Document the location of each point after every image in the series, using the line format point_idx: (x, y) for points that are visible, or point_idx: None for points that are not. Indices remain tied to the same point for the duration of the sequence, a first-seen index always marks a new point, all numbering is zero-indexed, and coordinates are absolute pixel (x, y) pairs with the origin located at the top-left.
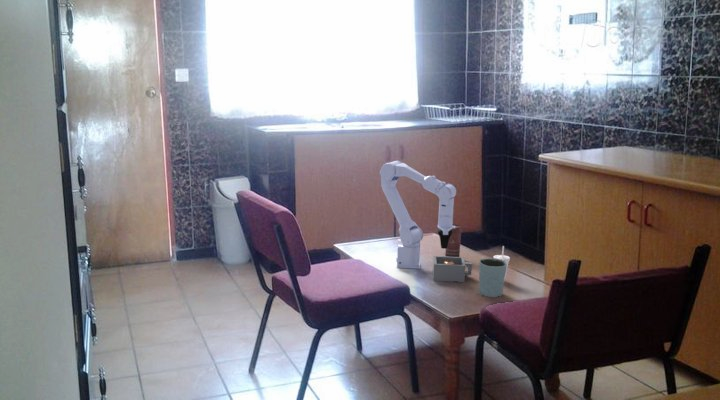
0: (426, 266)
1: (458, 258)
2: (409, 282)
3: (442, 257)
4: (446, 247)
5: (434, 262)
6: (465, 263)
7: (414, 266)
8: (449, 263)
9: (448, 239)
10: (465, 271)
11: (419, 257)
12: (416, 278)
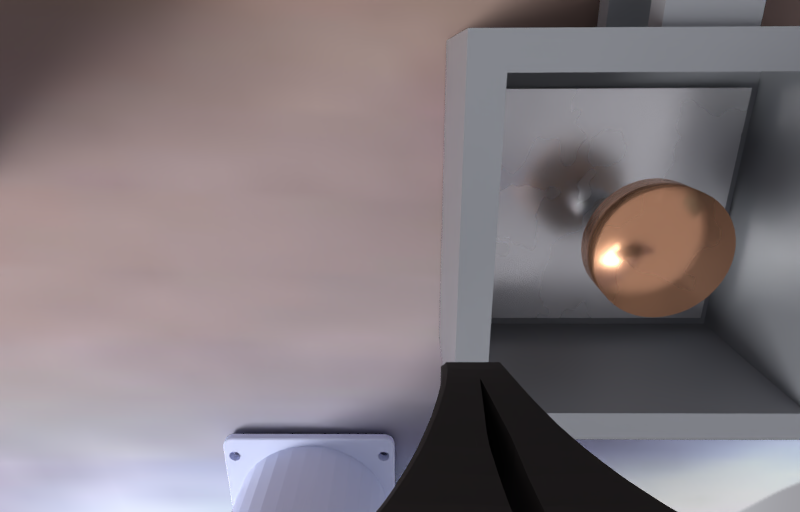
0: (294, 383)
1: (500, 115)
2: (756, 498)
3: (488, 336)
4: (511, 376)
5: (753, 434)
6: (754, 11)
7: (377, 482)
8: (719, 251)
9: (615, 481)
10: (619, 11)
11: (312, 506)
12: (654, 455)
